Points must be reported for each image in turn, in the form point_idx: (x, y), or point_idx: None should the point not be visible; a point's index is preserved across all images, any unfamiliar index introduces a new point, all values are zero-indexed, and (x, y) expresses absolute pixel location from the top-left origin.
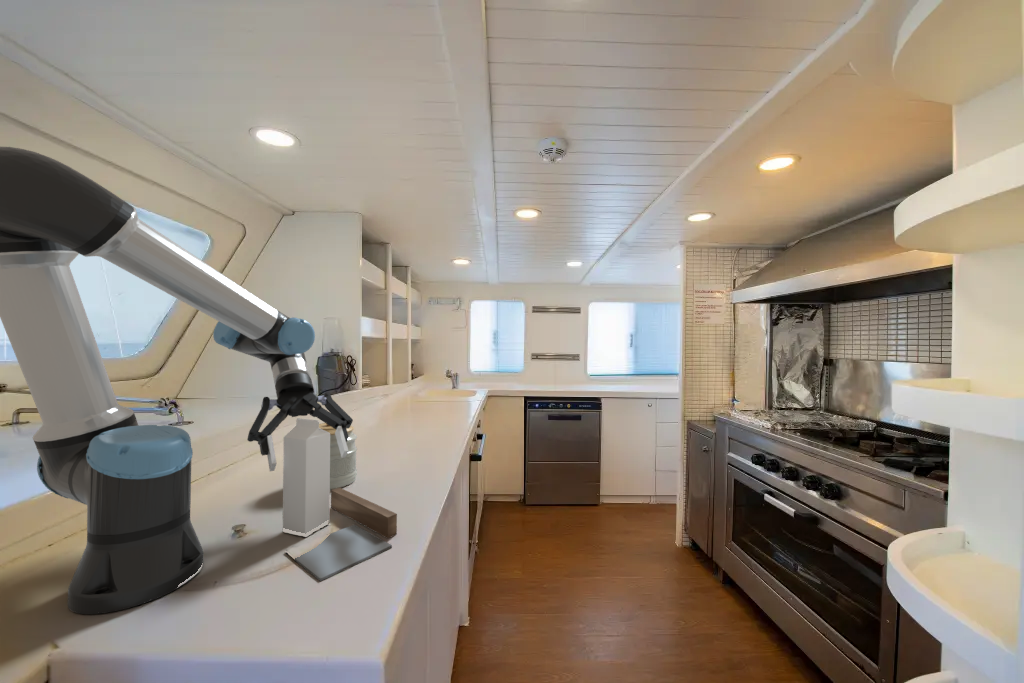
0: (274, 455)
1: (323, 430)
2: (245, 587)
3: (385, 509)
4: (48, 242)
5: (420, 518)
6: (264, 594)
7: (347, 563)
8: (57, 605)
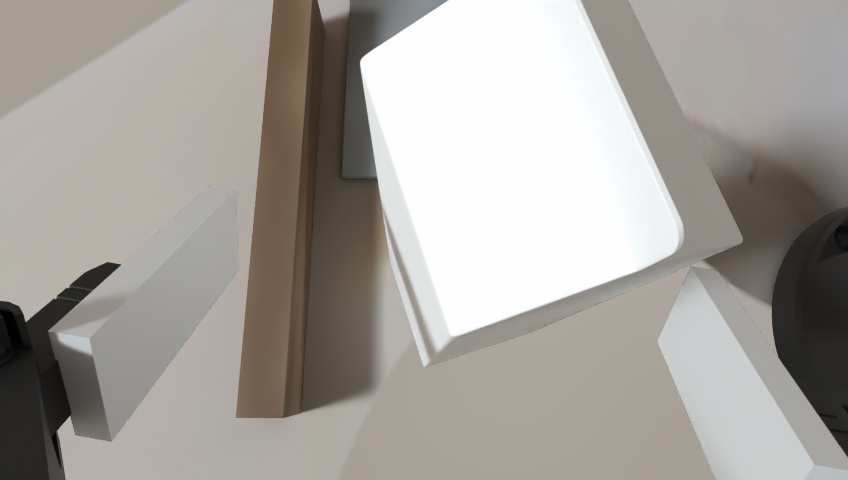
0: (719, 305)
1: (443, 7)
2: (699, 95)
3: (274, 39)
4: None
5: (162, 56)
6: (672, 35)
7: None
8: None
